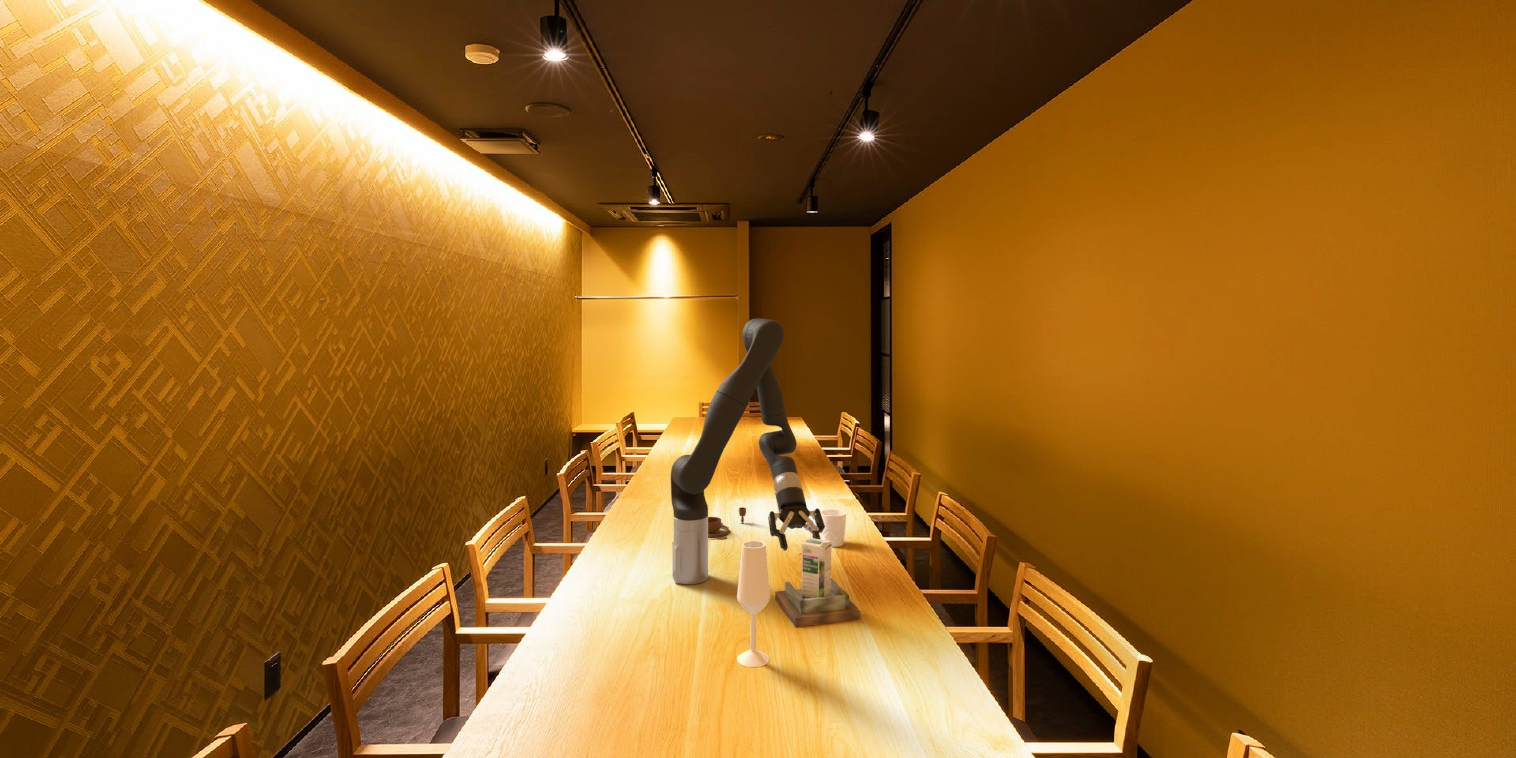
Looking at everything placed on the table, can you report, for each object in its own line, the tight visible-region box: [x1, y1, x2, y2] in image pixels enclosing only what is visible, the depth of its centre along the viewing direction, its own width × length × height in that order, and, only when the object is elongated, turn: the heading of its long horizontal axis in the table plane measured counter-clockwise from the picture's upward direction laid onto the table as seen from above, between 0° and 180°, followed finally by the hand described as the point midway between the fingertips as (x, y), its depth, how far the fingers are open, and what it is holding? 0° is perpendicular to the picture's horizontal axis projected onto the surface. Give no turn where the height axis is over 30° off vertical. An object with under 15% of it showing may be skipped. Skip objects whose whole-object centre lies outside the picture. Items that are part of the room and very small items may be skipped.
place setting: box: [708, 506, 747, 541], centre depth 224 cm, size 18×20×6 cm
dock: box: [774, 577, 862, 628], centre depth 163 cm, size 16×16×5 cm
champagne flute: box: [736, 540, 771, 668], centre depth 137 cm, size 7×7×24 cm
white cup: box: [820, 508, 847, 548], centre depth 212 cm, size 8×8×10 cm
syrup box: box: [800, 537, 832, 599], centre depth 162 cm, size 6×6×14 cm
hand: (801, 548), depth 172 cm, fingers open, 8 cm apart
